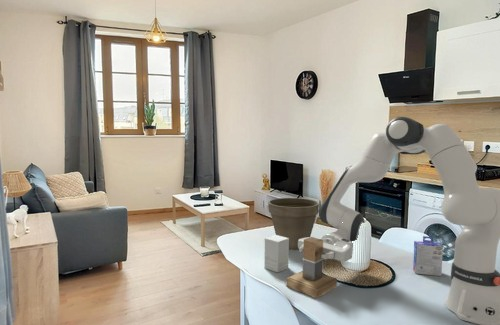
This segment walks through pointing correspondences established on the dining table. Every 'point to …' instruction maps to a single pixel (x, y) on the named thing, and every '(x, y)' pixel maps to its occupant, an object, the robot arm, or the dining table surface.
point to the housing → (312, 259)
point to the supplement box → (276, 253)
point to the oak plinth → (311, 284)
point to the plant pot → (293, 218)
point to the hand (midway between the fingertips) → (311, 253)
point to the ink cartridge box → (428, 257)
